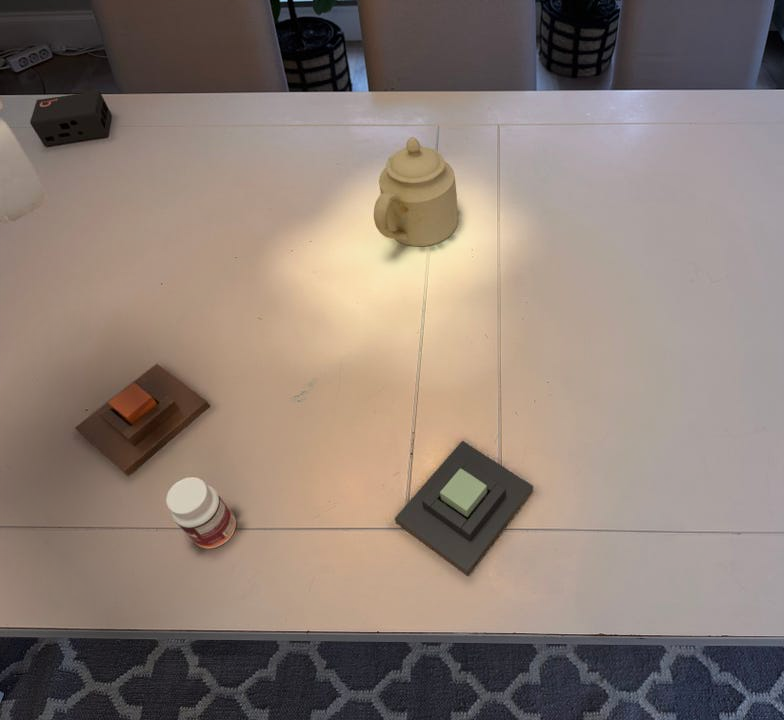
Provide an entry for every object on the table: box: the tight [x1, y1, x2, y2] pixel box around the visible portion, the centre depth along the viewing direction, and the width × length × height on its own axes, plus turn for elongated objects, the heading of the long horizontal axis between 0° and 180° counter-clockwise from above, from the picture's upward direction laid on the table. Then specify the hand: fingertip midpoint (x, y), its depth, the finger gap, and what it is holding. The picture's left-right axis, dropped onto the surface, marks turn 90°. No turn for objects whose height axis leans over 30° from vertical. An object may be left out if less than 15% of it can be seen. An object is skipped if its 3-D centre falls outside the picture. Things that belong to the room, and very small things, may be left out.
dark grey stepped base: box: [394, 440, 534, 577], centre depth 73 cm, size 12×10×3 cm
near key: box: [440, 468, 487, 517], centre depth 72 cm, size 4×4×2 cm
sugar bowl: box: [373, 136, 459, 247], centre depth 96 cm, size 15×11×15 cm
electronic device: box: [29, 90, 112, 147], centre depth 119 cm, size 7×11×5 cm
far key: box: [107, 382, 157, 425], centre depth 80 cm, size 4×4×2 cm
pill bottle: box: [165, 476, 237, 549], centre depth 70 cm, size 5×5×8 cm
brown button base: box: [74, 363, 211, 477], centre depth 82 cm, size 12×10×3 cm
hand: (4, 213), depth 62 cm, fingers closed
